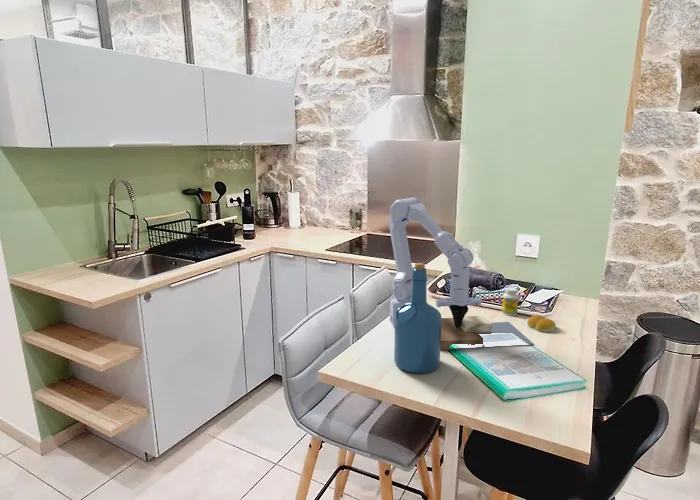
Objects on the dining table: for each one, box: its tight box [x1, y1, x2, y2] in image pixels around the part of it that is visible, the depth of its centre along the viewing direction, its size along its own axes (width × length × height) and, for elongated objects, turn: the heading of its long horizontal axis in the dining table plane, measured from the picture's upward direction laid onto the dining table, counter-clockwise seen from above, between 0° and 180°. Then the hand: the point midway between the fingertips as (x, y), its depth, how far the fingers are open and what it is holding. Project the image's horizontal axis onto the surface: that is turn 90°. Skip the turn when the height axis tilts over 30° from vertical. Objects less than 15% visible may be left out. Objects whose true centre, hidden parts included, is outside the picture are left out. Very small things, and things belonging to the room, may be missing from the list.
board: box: [440, 317, 483, 351], centre depth 147 cm, size 14×18×3 cm
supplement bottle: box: [501, 287, 519, 317], centre depth 166 cm, size 5×5×10 cm
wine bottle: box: [393, 262, 443, 374], centre depth 126 cm, size 14×13×30 cm
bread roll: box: [526, 314, 557, 333], centre depth 154 cm, size 8×9×4 cm
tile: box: [460, 315, 493, 332], centre depth 147 cm, size 9×7×2 cm
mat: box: [477, 321, 535, 346], centre depth 149 cm, size 16×18×1 cm
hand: (457, 326), depth 147 cm, fingers closed
